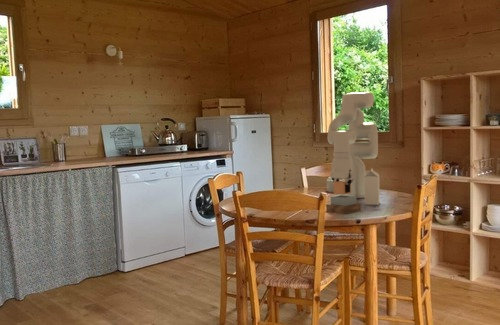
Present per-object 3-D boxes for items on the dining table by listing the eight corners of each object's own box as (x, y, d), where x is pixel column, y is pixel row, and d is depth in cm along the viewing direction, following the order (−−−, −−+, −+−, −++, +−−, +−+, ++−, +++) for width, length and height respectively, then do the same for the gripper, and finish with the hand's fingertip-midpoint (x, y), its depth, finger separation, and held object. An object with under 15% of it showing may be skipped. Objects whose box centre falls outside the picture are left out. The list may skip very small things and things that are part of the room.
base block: (326, 212, 242) (326, 204, 241) (341, 208, 249) (341, 200, 249) (345, 215, 232) (345, 207, 232) (360, 211, 240) (360, 203, 239)
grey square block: (330, 204, 241) (330, 196, 241) (341, 201, 247) (341, 193, 246) (345, 206, 234) (345, 198, 234) (356, 203, 240) (356, 195, 240)
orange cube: (333, 193, 240) (333, 181, 240) (341, 191, 244) (341, 180, 243) (343, 194, 236) (343, 182, 235) (351, 193, 239) (350, 181, 239)
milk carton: (379, 202, 258) (379, 167, 256) (378, 205, 251) (378, 169, 249) (366, 202, 260) (365, 167, 258) (364, 204, 254) (364, 169, 252)
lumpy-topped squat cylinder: (346, 189, 307) (346, 176, 306) (339, 192, 296) (339, 178, 295) (331, 188, 312) (331, 175, 311) (323, 191, 301) (323, 178, 300)
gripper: (323, 155, 242) (324, 191, 244) (350, 157, 229) (351, 194, 231) (333, 154, 247) (334, 189, 249) (360, 155, 234) (361, 192, 235)
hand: (342, 191), depth 240 cm, fingers closed on orange cube, 5 cm apart
